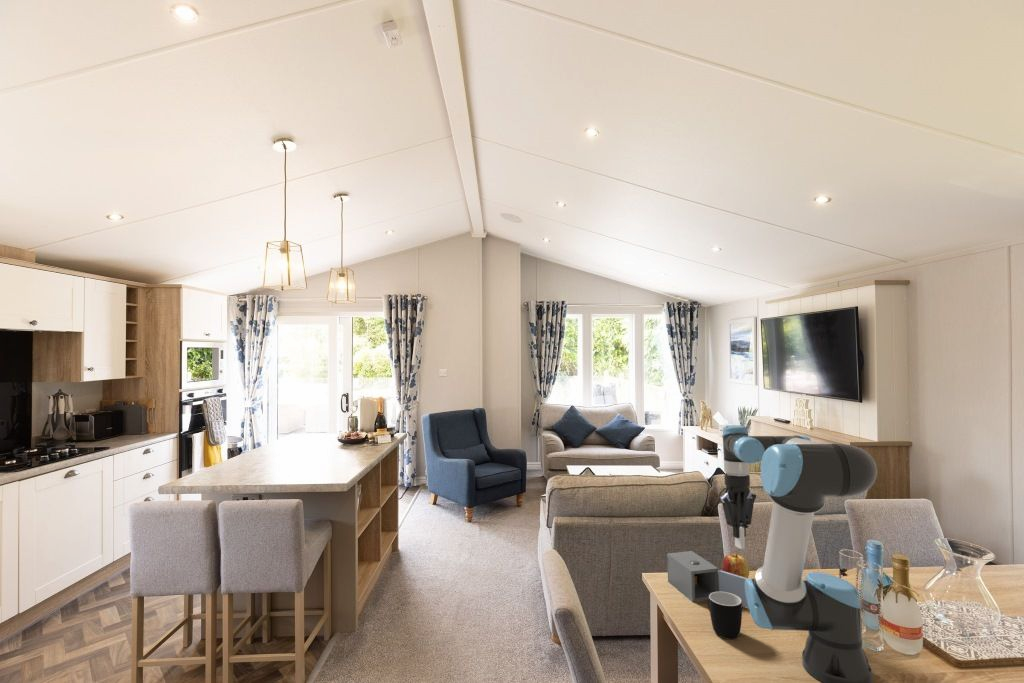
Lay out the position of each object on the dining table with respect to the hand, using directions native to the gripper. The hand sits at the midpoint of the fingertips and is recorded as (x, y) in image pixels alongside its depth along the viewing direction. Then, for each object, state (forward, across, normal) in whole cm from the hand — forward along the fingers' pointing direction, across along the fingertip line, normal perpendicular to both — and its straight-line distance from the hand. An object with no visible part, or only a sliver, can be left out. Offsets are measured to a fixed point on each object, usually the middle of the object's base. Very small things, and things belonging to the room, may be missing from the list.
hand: (740, 547), depth 161 cm
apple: (+20, -12, -16) cm, 28 cm away
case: (+20, +6, -17) cm, 27 cm away
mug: (+20, +14, +8) cm, 26 cm away
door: (+19, -1, -4) cm, 20 cm away
